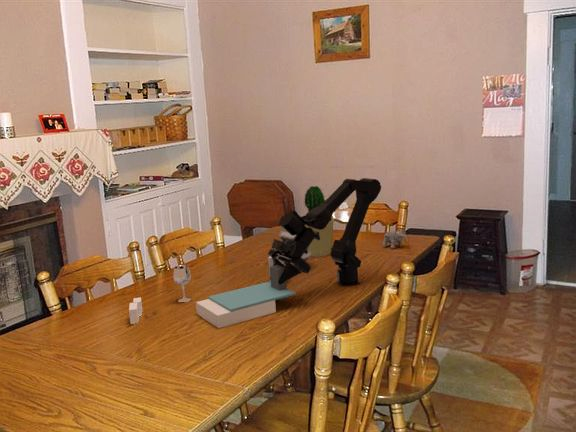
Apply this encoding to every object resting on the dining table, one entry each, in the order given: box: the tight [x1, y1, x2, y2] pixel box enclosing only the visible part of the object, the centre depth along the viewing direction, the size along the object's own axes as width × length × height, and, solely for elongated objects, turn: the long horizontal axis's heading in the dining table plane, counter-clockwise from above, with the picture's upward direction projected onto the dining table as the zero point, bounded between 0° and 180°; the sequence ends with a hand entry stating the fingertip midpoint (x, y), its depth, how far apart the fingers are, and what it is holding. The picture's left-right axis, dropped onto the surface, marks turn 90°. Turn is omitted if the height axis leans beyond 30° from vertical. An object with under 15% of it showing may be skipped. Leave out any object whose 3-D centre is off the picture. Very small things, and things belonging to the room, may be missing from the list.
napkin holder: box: [128, 297, 143, 325], centre depth 187 cm, size 15×11×6 cm
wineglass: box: [173, 264, 192, 303], centre depth 200 cm, size 6×6×12 cm
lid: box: [208, 265, 297, 312], centre depth 188 cm, size 23×16×10 cm
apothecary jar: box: [278, 227, 312, 272], centre depth 230 cm, size 12×12×18 cm
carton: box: [195, 298, 277, 329], centre depth 185 cm, size 20×16×4 cm
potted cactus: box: [303, 185, 335, 258], centre depth 250 cm, size 15×15×30 cm
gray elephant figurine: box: [382, 229, 409, 250], centre depth 253 cm, size 9×12×8 cm
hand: (274, 281), depth 192 cm, fingers closed on lid, 5 cm apart
